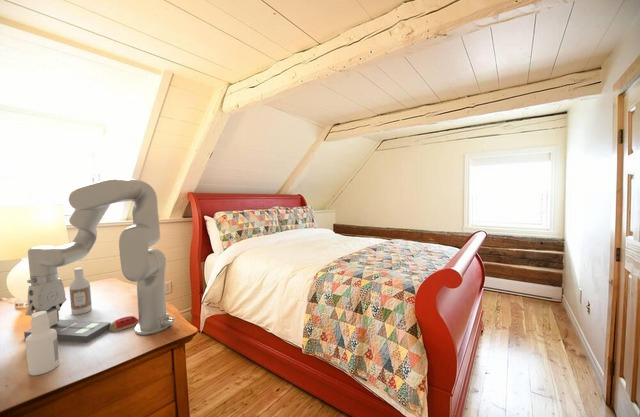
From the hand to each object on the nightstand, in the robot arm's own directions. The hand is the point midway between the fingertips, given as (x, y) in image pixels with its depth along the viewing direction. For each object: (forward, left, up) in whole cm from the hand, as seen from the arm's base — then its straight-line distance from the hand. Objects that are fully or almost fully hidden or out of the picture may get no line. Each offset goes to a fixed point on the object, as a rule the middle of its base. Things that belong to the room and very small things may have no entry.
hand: (48, 323), depth 107 cm
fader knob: (0, 0, -1) cm, 1 cm away
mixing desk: (-9, 0, -3) cm, 9 cm away
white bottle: (-22, +19, -4) cm, 29 cm away
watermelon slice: (-26, -7, -4) cm, 27 cm away
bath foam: (+4, -17, -4) cm, 18 cm away
